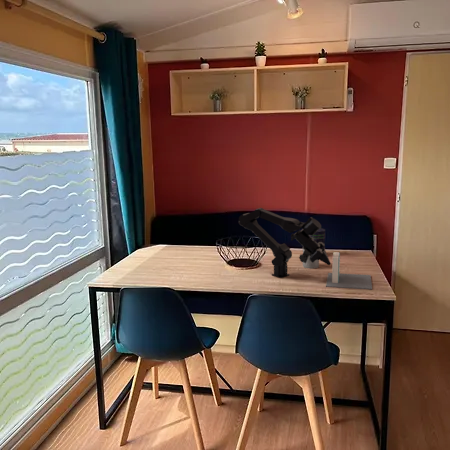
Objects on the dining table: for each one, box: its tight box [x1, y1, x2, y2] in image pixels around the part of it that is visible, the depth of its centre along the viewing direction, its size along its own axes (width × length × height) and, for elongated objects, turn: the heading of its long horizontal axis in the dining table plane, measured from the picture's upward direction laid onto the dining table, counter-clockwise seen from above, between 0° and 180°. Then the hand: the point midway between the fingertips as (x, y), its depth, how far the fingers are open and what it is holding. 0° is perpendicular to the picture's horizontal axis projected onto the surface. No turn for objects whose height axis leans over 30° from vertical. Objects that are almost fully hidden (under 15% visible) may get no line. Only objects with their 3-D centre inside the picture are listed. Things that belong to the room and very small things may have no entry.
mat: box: [325, 272, 373, 291], centre depth 215 cm, size 20×20×1 cm
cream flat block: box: [331, 251, 341, 283], centre depth 215 cm, size 3×10×12 cm, turn 165°
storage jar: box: [309, 227, 326, 250], centre depth 260 cm, size 10×10×15 cm
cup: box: [302, 248, 320, 270], centre depth 239 cm, size 8×8×10 cm
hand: (329, 264), depth 215 cm, fingers closed
